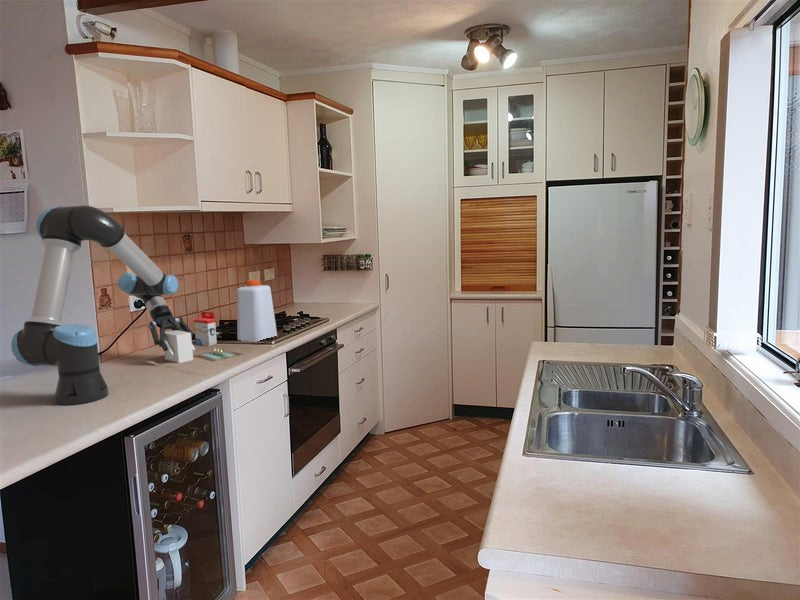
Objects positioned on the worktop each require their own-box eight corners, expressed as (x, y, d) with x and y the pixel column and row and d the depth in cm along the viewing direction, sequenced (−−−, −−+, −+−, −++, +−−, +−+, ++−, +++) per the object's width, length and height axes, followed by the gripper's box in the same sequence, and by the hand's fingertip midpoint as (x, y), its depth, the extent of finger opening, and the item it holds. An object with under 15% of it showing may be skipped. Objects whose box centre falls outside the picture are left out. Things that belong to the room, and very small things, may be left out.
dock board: (213, 364, 228) (213, 361, 228) (192, 359, 239) (191, 356, 239) (244, 357, 239) (244, 354, 238) (222, 352, 249) (222, 349, 249)
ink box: (195, 345, 266) (192, 313, 264) (203, 342, 271) (201, 311, 269) (209, 346, 262) (206, 313, 260) (217, 344, 267) (214, 311, 265)
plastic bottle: (262, 345, 260) (257, 282, 256) (233, 344, 265) (228, 282, 261) (281, 338, 273) (276, 278, 269) (253, 337, 279) (249, 278, 275)
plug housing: (179, 365, 228) (176, 335, 226) (165, 362, 235) (162, 332, 233) (193, 362, 232) (190, 332, 231) (179, 359, 239) (176, 330, 238)
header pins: (221, 356, 236) (220, 350, 236) (212, 354, 240) (212, 348, 240) (223, 355, 237) (222, 349, 236) (215, 353, 241) (214, 347, 240)
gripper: (180, 312, 249) (204, 354, 241) (130, 320, 233) (154, 365, 225) (185, 300, 245) (210, 343, 237) (135, 308, 229) (159, 353, 221)
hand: (182, 353), depth 231 cm, fingers open, 8 cm apart
